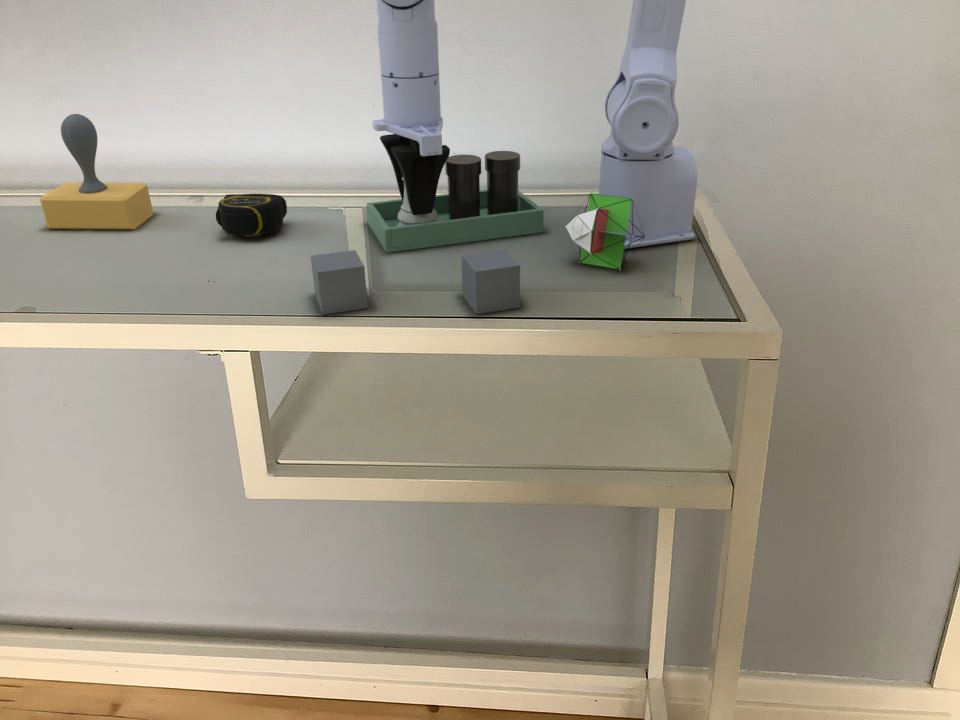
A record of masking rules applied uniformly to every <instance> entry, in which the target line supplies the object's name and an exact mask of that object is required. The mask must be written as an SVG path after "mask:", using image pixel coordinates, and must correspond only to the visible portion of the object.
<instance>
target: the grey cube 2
mask: <svg viewBox="0 0 960 720" xmlns="http://www.w3.org/2000/svg"><path fill="white" fill-rule="evenodd" d="M461 284H462V285H461V286H462V289H461V290H462V298H463V299H464V300H465V302H466V303H467V304H468V306H469V307H470V308H471V309H472V311H473V312H474V313H475V315H483V314H489V313H495V312H501V311H507V310H513V309H514V310H515V309H520V308H521V264H519V263H518V262H517V260H515V258H514V257H512V255H511V254H509V253H508V251H506V250H505V249H497V250H490V251H489V250H488V251H483V252H475V253H474V252H473V253H468V254H462V255H461Z"/></svg>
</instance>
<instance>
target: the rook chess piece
mask: <svg viewBox="0 0 960 720" xmlns="http://www.w3.org/2000/svg"><path fill="white" fill-rule="evenodd" d="M402 180H403V181H404V178H403V177H402ZM437 216H438V215H437V212H436V211H435V210H434V209H433V211H432V213H428V214H420V215H413V214H412V212H411V209H410V206H409V202H408V197H407V192H406V187H405V182H404V200H403V205H401V210H400V211H399V213H398V216H397V218H398V219H399V220H400V222H399V223H398V225H397V226H404V225H412V224H420V223H428V222H436V220H435V219H436V218H437Z"/></svg>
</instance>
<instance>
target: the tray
mask: <svg viewBox="0 0 960 720" xmlns="http://www.w3.org/2000/svg"><path fill="white" fill-rule="evenodd" d="M401 205H403V201H402V198H400V199H391V200H382V201H381V200H380V201H374V202H373V201H372V202H366V211H367V224H368V226H369V228H370V230H371V231H372V232H373V234H374V235H375V237H376V239H377V240H378V242H379V244H380V245H381V247H382V248H383V250H384V251H385V253H386V254H388V253H389V254H390V253H397V252H403V251H412V250H419V249H426V248H427V249H428V248H434V247H442V246H450V245H457V244H465V243H472V242H479V241H487V240H495V239H504V238H510V237H518V236H525V235H526V236H527V235H533V234H542V233H544V214H545V213H544V209H543V208H541V207H540V206H539V205H538V204H536V202H534V201H533V200H531V199H530V198H529V197H528V196H526V195H525V194H524V193H522V191H520V190H519V189H518V212H509V213H501V214H493V215H487V188H486V189H480V216H477V217H469V218H461V219H453V220H449V204H448V193H444V194H436V197H435V203H434V208H433V209H434V210H435V211H436V212H437V215H438V216H437V218H436V219H435V220H436V222H428V223H420V224H412V225H404V226H397V225H398V223H399V222H400V220H399V219H398V218H397V216H398V213H399V211H400V210H401Z"/></svg>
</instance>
